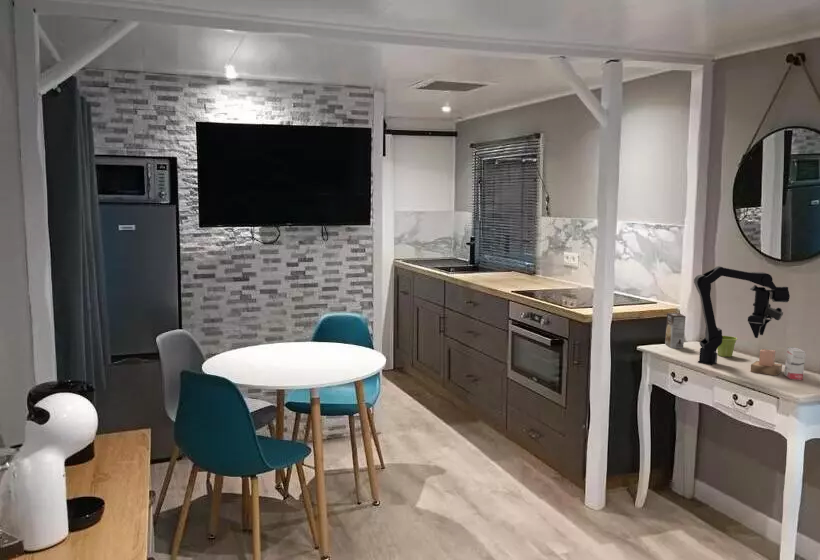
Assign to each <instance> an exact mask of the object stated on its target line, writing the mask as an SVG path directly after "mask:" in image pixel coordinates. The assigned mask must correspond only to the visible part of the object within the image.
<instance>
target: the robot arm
mask: <svg viewBox="0 0 820 560" xmlns="http://www.w3.org/2000/svg"><path fill="white" fill-rule="evenodd" d="M721 277H726V278H733V279H736V280H743V281H748V282H750V283H753V284H754V285H753V286H752V287H751V288H750V290H751V291H752V292H755V293H754V302H753V304H752V306H753V312H752V313H751V315H749V316H748V317H747V322H748V324H749V326H750V328H751V331H752V334H753V336H754V338H755V339H758V338H759V335H760V336H763V335H764V334H765V330H766V327H767V325H768V324H769V323H770V322H771V321H772V320H773V319H774V320H775V321H780V320H781V319H782V317H783V315H784V311H783V309H782V308H781V307H776V308H773V307H771V303H770V300H771V301H772V303H773V302H774V303H788V302H789V301H790V297H791V296H790V292H789V287H788V286H777V285H775V283H774V281H773V280H774V279H773V277H772V275H771V274H770V273H766V272H764V271H762V272H761V271H744V270H738V269H733V268H729V267H728V268H727V267H723V266H720V265H719V266H715V267H713V269H710V270H709V271H706V272H705V273H702V274H698V275H696V276H695V277H694V278H693V283H694V286H695V288H696V291H697V293H698V294H699V298H700V303H701V306H702V312H703V318H704V322H705V330H704V332H705V333H704V338H702V340H701V341H700V342H699V346H700V348H699V355H698V356H699V357H698V358H699V359H698V360H697V363H701V364H708V365H714V364H717V362H718V352H717V351H718V350H717V348H718V346H720V345H721V344H722V339H724V338H723V336H724V335H723V331H722V330H723V329H721V328H720V327H717V323H716V318H715V313H714V309H713V303H712V298H711V292H712V284H713V283H714V282H715V281H717V280H718V279H720V278H721ZM755 284H756V285H755ZM757 285H759V286H757ZM766 288H767V289H766Z"/></svg>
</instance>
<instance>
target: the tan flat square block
mask: <svg viewBox="0 0 820 560" xmlns="http://www.w3.org/2000/svg"><path fill="white" fill-rule="evenodd" d="M782 370H783V364H779V363H776V362H775V363H774V365H773V366H772V367H771V366H764V365H759V360H756V361H755V362H753V363H751V365H750V372H751V373H757V374H764V375H769V376H777V377H778V376H779V374H780V373H782V372H783V371H782ZM781 371H782V372H781Z"/></svg>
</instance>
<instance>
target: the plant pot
mask: <svg viewBox="0 0 820 560" xmlns="http://www.w3.org/2000/svg"><path fill="white" fill-rule="evenodd" d="M722 336H723V338H724V339H722V344H721V345H720V346H718V348H717V350H716V351H717V353H718V354H717V356H719V357H723V358H726V357H728V358H731V357H733V353H734V348H735V345H736V342H737V340H738V338H737V337H735V336H730V335H722Z"/></svg>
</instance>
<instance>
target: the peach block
mask: <svg viewBox="0 0 820 560" xmlns="http://www.w3.org/2000/svg"><path fill="white" fill-rule="evenodd" d="M775 359H776V350H775V349H774V350H772V349H765V348H763V349H760V350H759V358H758V361H759V365H764V366H771V367H772V366H773V365H774V363H775V364H776V362H775V361H776V360H775Z"/></svg>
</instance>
